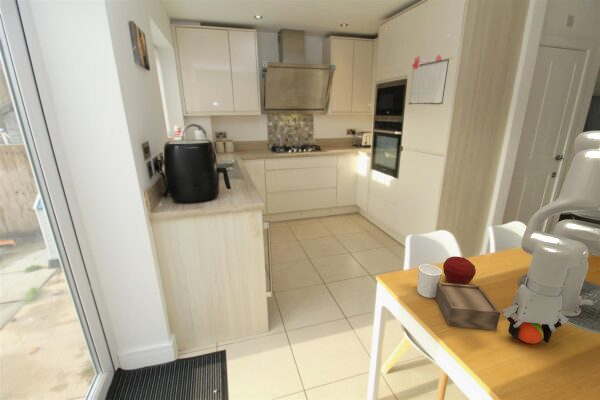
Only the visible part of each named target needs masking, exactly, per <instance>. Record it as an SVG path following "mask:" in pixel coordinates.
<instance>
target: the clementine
mask: <svg viewBox="0 0 600 400" xmlns="http://www.w3.org/2000/svg"><path fill="white" fill-rule="evenodd" d="M517 320H518V318H517V319H516V320H515V322H516V321H517ZM541 326H542V325H541V324H539V323H530V322H523V323H522V324H521V325H519V326H518V327H519V329H520V330H519V334H518V337H517V339H519V340H521V342H524V343H527V344H538V343H539V342H541V341H542V340H543V339H544V337H543V330H542V328H541ZM542 338H543V339H542Z"/></svg>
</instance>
